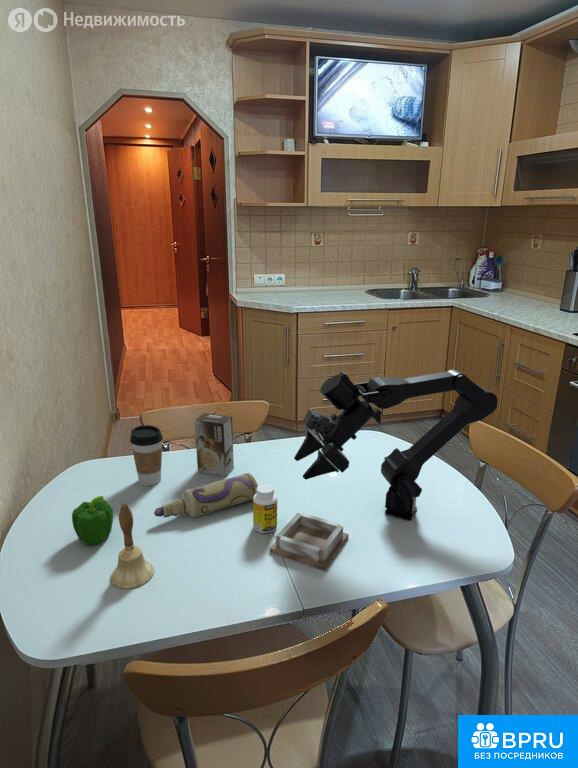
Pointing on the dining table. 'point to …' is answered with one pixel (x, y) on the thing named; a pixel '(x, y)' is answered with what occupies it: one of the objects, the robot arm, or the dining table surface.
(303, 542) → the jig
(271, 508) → the supplement bottle
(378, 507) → the dining table surface
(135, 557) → the hand bell
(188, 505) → the decorative bottle
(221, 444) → the coffee box
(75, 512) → the bell pepper
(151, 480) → the coffee cup
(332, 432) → the robot arm
